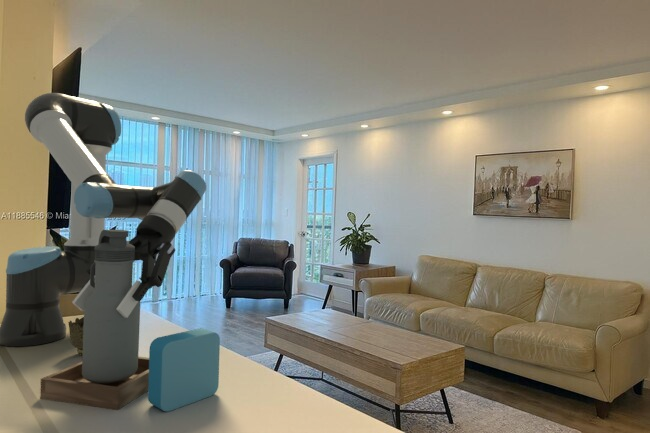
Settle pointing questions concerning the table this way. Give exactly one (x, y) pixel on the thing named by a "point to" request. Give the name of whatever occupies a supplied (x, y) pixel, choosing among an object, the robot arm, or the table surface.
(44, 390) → the walnut tray
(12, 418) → the table surface
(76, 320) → the cup
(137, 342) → the water bottle
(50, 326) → the robot arm
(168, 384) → the data package
